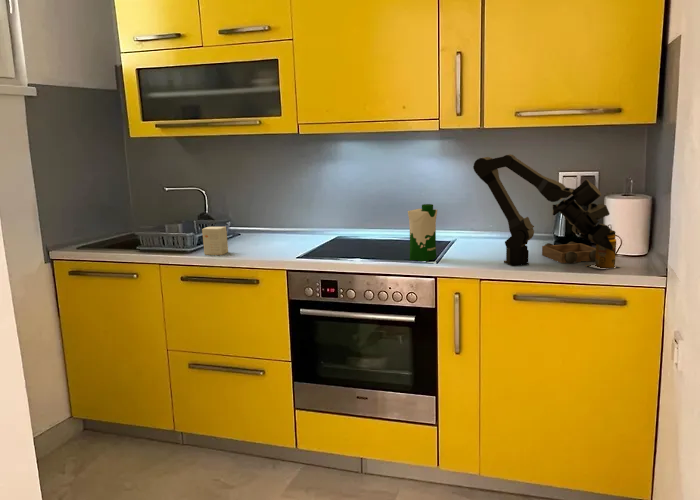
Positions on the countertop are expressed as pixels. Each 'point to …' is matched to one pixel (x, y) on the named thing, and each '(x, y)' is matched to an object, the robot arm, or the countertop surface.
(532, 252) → the countertop surface
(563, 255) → the chassis bay
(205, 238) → the small box
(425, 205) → the milk carton
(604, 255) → the condiment
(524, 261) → the robot arm
